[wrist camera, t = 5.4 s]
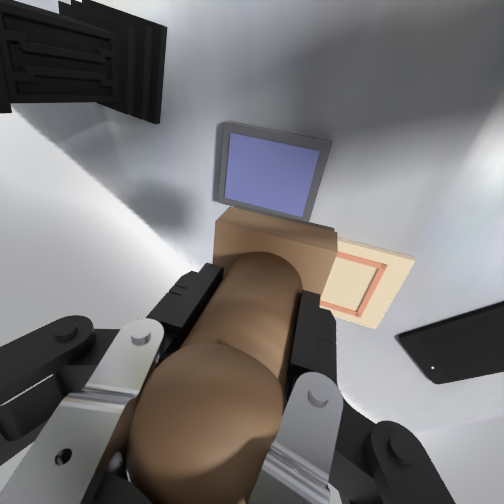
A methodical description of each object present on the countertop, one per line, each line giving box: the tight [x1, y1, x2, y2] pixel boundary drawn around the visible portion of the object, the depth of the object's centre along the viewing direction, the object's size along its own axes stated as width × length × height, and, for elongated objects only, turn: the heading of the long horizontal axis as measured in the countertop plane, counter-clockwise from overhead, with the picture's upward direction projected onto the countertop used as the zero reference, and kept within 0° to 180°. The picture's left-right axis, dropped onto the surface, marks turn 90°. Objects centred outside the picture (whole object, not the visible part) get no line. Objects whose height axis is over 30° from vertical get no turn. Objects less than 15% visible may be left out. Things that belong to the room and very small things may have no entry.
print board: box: [320, 237, 415, 329], centre depth 30 cm, size 12×10×1 cm
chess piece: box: [0, 0, 167, 124], centre depth 17 cm, size 8×8×20 cm
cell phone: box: [399, 302, 504, 384], centre depth 28 cm, size 9×18×1 cm, turn 132°
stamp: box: [126, 205, 338, 504], centre depth 9 cm, size 5×5×10 cm
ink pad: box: [218, 121, 332, 222], centre depth 26 cm, size 10×8×1 cm
